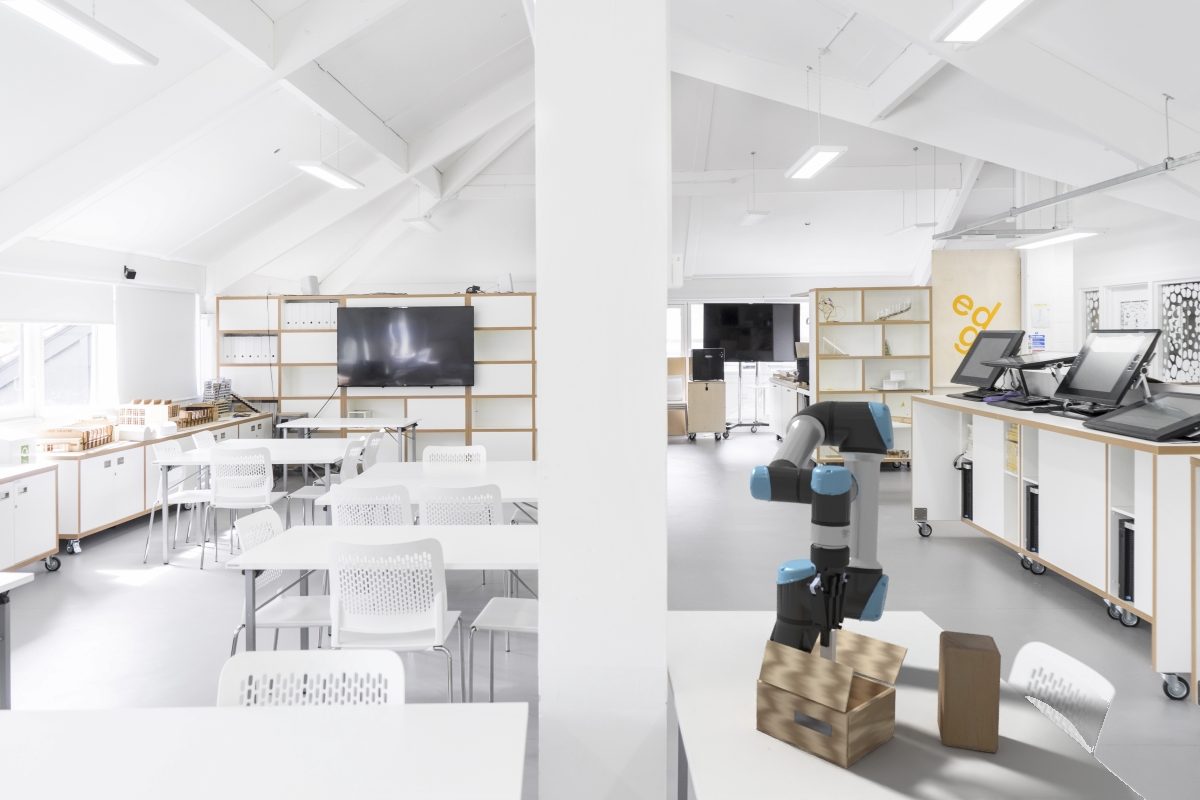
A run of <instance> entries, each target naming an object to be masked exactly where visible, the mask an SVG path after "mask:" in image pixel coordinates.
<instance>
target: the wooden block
mask: <svg viewBox="0 0 1200 800" xmlns="http://www.w3.org/2000/svg"><path fill="white" fill-rule="evenodd" d="M938 646H939V648H938V649H939V650H938V651H939V653H938V680H937V681H938V684H937V685H938V688H937V717H936V718H937V720H936V721H937V726H938V731H939V737H940V741H941V743H942V745H944V746H946V747H947V746H948V747H955V748H961V749H967V750H974V751H980V752H987V753H992V754H993V753H996V752H997V750H998V749H999V728H1000V727H999V726H1000V701H1001V700H1000V697H1001V695H1000V694H1001V693H1000V692H1001V669H1002V668H1001V665H1002V664H1001V663H1002V662H1001V661H1002V660H1001V659H1002V656H1001V655H1002V654H1001V653H1000V651H999V648H998V646H997V644H996V641H995V639H994V637H993V636H991V635H985V634H978V633H971V632H970V633H969V632H968V633H967V632H960V631H959V632H958V631H950V630H943V631H941V632H940V634H939V644H938Z"/></svg>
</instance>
